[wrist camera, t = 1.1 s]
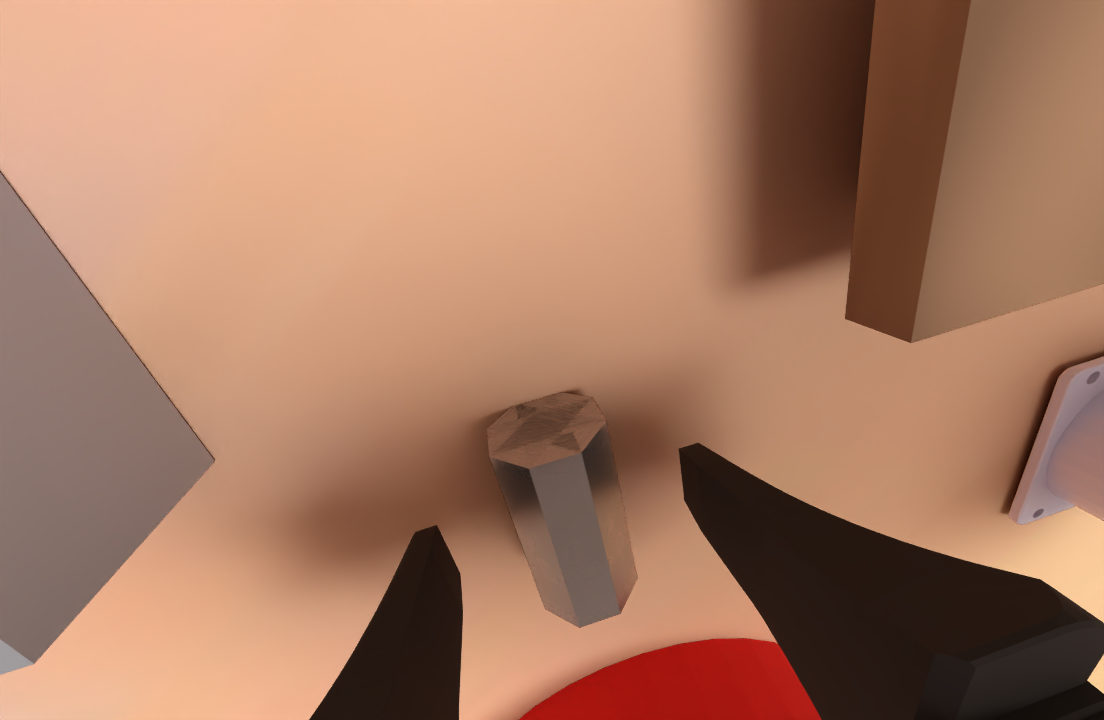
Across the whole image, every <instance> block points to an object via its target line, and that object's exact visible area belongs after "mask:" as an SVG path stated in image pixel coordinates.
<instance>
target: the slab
mask: <svg viewBox="0 0 1104 720" xmlns="http://www.w3.org/2000/svg"><path fill="white" fill-rule="evenodd" d="M1101 284H1104V0H875V11H874V21H873V32H872V42H871V53H870V63H869V73H868V84H867V94H866V105H865V115H864V126H863V136H862V147H861V157H860V168H859V178H858V189H857V199H856V209H855V220H854V230H853V241H852V251H851V262H850V272H849V283H848V293H847V304H846V314H845V319H847V320H850V321H853V322H855V323H858V324H861V325H863V326H866V327H869V328H872V329H874V330H877V331H880V332H882V333H885V334H888V335H890V336H893V337H896V338H899V339H901V340H904V341H907V342H909V343H913V342H916V341H919V340H923V339H926V338H929V337H932V336H936V335H939V334H942V333H945V332H949V331H952V330H955V329H958V328H962V327H965V326H968V325H971V324H974V323H978V322H981V321H984V320H987V319H991V318H994V317H997V316H1000V315H1004V314H1007V313H1010V312H1013V311H1017V310H1020V309H1023V308H1026V307H1030V306H1033V305H1036V304H1039V303H1043V302H1046V301H1049V300H1052V299H1056V298H1059V297H1062V296H1065V295H1069V294H1072V293H1075V292H1078V291H1082V290H1085V289H1088V288H1091V287H1095V286H1098V285H1101Z"/></svg>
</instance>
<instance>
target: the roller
mask: <svg viewBox="0 0 1104 720" xmlns="http://www.w3.org/2000/svg"><path fill="white" fill-rule="evenodd" d="M487 437H488V450H489V458H490V461H491V463H492V466H493V469H494V471H495V474H496V477H497V480H498V482H499V485H500V488H501V490H502V493H503V496H504V499H505V501H506V504H507V507H508V509H509V512H510V515H511V518H512V520H513V523H514V526H515V529H516V531H517V534H518V537H519V539H520V542H521V545H522V548H523V550H524V553H525V556H526V558H527V561H528V564H529V567H530V569H531V572H532V575H533V577H534V580H535V583H536V586H537V588H538V591H539V594H540V597H541V599H542V602H543V605H544V607H545V609H546V610H548V611H550V612H552V613H553V614H555V615H557V616H559V617H561V618H563V619H564V620H566V621H568V622H570V623H572V624H574V625H575V626H577V627H579V628H580V627H583V626H586V625H589V624H592V623H595V622H598V621H601V620H604V619H606V618H609V617H612V616H615V615H618V614H621V611H622V609H623V607H624V605H625V603H626V601H627V599H628V597H629V595H630V593H631V590H632V588H633V586H634V584H635V582H636V580H637V578H638V577H637V572H636V567H635V562H634V557H633V552H632V547H631V542H630V537H629V532H628V527H627V522H626V517H625V512H624V507H623V502H622V497H621V492H620V487H619V482H618V477H617V472H616V467H615V462H614V457H613V452H612V447H611V442H610V437H609V432H608V427H607V422H606V420H605V418H604V416H603V414H602V413H601V411H600V409H599V407H598V406H597V404H596V402H595V401H594V399H593V397H589V396H582V395H576V394H570V393H563V392H560V393H556V394H553V395H549V396H546V397H543V398H539V399H536V400H533V401H529V402H526V403H522V404H519V405H516V406H512V407H510V408H509V409H508V410H507V411H506V412H505V413H504V414H503V415H501V416H500V417H499V418H498V419H497V420H496V421H495V422H494V423H493V424H492V425H490V426H489V427H488V428H487Z"/></svg>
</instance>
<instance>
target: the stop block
mask: <svg viewBox="0 0 1104 720" xmlns="http://www.w3.org/2000/svg"><path fill="white" fill-rule="evenodd" d="M213 463H214V459H213V458H212V457H211V455H210V454H209V453H208V451H207V450H206V448H205V447H204V446H203V444H202V443H201V442H200V440H199V439H198V438H197V436H196V435H195V434H194V432H193V431H192V430H191V428H190V427H189V426H188V424H187V423H186V422H185V420H184V419H183V418H182V416H181V415H180V414H179V412H178V411H177V409H176V408H175V407H174V405H173V404H172V403H171V401H170V400H169V399H168V397H167V396H166V395H165V393H164V392H163V391H162V389H161V388H160V387H159V385H158V384H157V383H156V381H155V380H154V379H153V377H152V376H151V375H150V373H149V372H148V371H147V369H146V368H145V366H144V365H143V364H142V362H141V361H140V360H139V358H138V357H137V356H136V354H135V353H134V352H133V350H132V349H131V348H130V346H129V345H128V344H127V342H126V341H125V340H124V338H123V337H122V336H121V334H120V333H119V332H118V330H117V329H116V328H115V326H114V325H113V323H112V322H111V321H110V319H109V318H108V317H107V315H106V314H105V313H104V311H103V310H102V309H101V307H100V306H99V305H98V303H97V302H96V301H95V299H94V298H93V297H92V295H91V294H90V293H89V291H88V290H87V289H86V287H85V286H84V284H83V283H82V282H81V280H80V279H79V278H78V276H77V275H76V274H75V272H74V271H73V270H72V268H71V267H70V266H69V264H68V263H67V262H66V260H65V259H64V258H63V256H62V255H61V254H60V252H59V251H58V250H57V248H56V247H55V246H54V244H53V243H52V241H51V240H50V239H49V237H48V236H47V235H46V233H45V232H44V231H43V229H42V228H41V227H40V225H39V224H38V223H37V221H36V220H35V219H34V217H33V216H32V215H31V213H30V212H29V211H28V209H27V208H26V207H25V205H24V204H23V203H22V201H21V200H20V198H19V197H18V196H17V194H16V193H15V192H14V190H13V189H12V188H11V186H10V185H9V184H8V182H7V181H6V180H5V178H4V177H3V176H2V174H1V173H0V675H1V674H4V673H7V672H10V671H14V670H17V669H20V668H23V667H26V666H29V665H32V664H35V662H36V661H37V660H38V659H39V658H40V657H41V656H42V655H43V653H44V652H45V651H46V650H47V649H48V648H49V647H50V646H51V644H52V643H53V642H54V641H55V640H56V639H57V638H58V637H59V635H60V634H61V633H62V632H63V631H64V630H65V629H66V628H67V627H68V625H69V624H70V623H71V622H72V621H73V620H74V619H75V618H76V616H77V615H78V614H79V613H80V612H81V611H82V610H83V609H84V607H85V606H86V605H87V604H88V603H89V602H90V601H91V600H92V598H93V597H94V596H95V595H96V594H97V593H98V592H99V591H100V589H101V588H102V587H103V586H104V585H105V584H106V583H107V582H108V580H109V579H110V578H111V577H112V576H113V575H114V574H115V573H116V572H117V570H118V569H119V568H120V567H121V566H122V565H123V564H124V563H125V561H126V560H127V559H128V558H129V557H130V556H131V555H132V554H133V552H134V551H135V550H136V549H137V548H138V547H139V546H140V545H141V543H142V542H143V541H144V540H145V539H146V538H147V537H148V536H149V534H150V533H151V532H152V531H153V530H154V529H155V528H156V527H157V525H158V524H159V523H160V522H161V521H162V520H163V519H164V518H165V516H166V515H167V514H168V513H169V512H170V511H171V510H172V509H173V508H174V506H175V505H176V504H177V503H178V502H179V501H180V500H181V499H182V497H183V496H184V495H185V494H186V493H187V492H188V491H189V490H190V488H191V487H192V486H193V485H194V484H195V483H196V482H197V481H198V479H199V478H200V477H201V476H202V475H203V474H204V473H205V472H206V470H207V469H208V468H209V467H210V466H211V465H212V464H213Z"/></svg>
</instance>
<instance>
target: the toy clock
mask: <svg viewBox="0 0 1104 720" xmlns="http://www.w3.org/2000/svg"><path fill="white" fill-rule="evenodd" d="M519 720H822V719H821V718H820V716H819V714H818V712H817V710H816V709H815V707H814V705H813V703H812V701H811V700H810V698H809V696H808V694H807V693H806V691H805V689H804V687H803V686H802V684H801V682H800V680H799V679H798V677H797V675H796V673H795V672H794V670H793V668H792V666H791V665H790V663H789V661H788V659H787V658H786V656H785V654H784V653H783V651H782V649H781V648H780V646H779V644H777V643H774V642H769V641H761V640H754V639H747V638H737V639H710V640H703V641H696V642H690V643H683V644H677V645H673V646H670V647H666V648H662V649H658V650H654V651H650V652H647V653H643V654H640V655H637V656H634V657H632V658H629V659H626V660H624V661H621V662H618V663H616V664H613V665H610V666H608V667H605V668H603V669H601V670H599V671H597V672H595V673H592V674H590V675H588V676H586V677H584V678H582V679H580V680H578V681H576V682H574V683H572V684H570V685H568V686H566V687H565V688H563V689H562V690H560V691H559V692H557V693H555V694H554V695H552V696H551V697H549V698H547V699H546V700H544V701H543V702H541V703H540V704H538V705H536V706H535V707H534V708H533V709H531V710H530V711H529V712H528V713H526V714H525V715H524V716H523V717H521V718H520V719H519Z"/></svg>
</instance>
